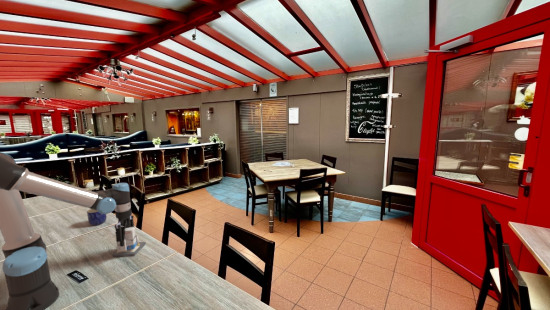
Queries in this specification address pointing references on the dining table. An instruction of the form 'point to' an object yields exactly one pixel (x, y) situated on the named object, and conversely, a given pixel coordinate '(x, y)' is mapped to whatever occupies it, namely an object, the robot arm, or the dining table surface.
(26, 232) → the robot arm
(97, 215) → the planter
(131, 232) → the ink box
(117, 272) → the dining table surface
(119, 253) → the header board
